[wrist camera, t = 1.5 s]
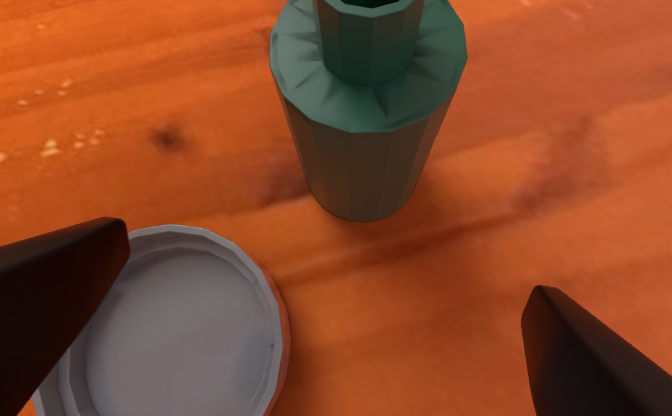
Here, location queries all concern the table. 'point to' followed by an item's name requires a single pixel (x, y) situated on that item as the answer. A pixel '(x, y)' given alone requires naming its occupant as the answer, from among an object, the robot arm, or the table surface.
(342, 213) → the ink bottle
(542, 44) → the table surface
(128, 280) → the dish
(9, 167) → the table surface
